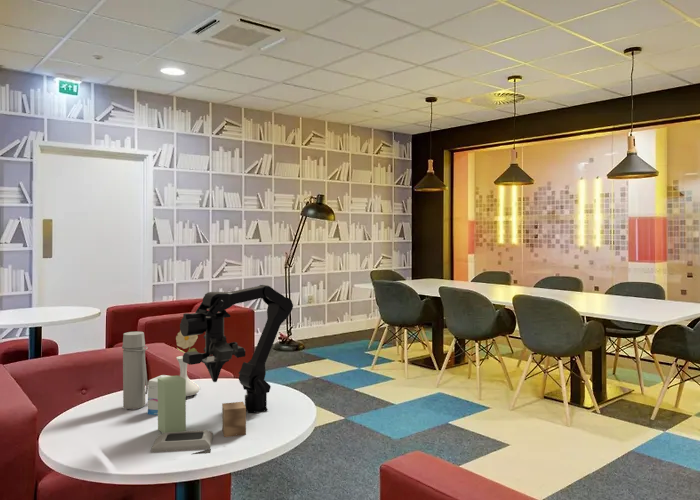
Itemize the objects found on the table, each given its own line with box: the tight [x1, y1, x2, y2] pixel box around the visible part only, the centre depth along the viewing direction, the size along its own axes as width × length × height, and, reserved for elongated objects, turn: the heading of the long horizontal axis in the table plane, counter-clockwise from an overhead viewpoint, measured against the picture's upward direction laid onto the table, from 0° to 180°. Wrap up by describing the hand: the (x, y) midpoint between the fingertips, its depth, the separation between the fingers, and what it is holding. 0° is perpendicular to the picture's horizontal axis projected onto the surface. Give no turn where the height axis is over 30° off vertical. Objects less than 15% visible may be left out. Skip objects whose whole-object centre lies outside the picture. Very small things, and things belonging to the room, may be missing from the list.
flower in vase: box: [175, 330, 201, 397], centre depth 195 cm, size 13×11×25 cm
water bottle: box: [121, 331, 149, 410], centre depth 182 cm, size 9×8×25 cm
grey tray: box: [150, 429, 214, 455], centre depth 148 cm, size 10×4×15 cm
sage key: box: [157, 374, 187, 434], centre depth 158 cm, size 6×6×15 cm
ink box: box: [147, 374, 171, 416], centre depth 175 cm, size 9×5×12 cm, turn 168°
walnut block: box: [221, 401, 247, 438], centre depth 156 cm, size 6×6×9 cm
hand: (214, 381), depth 170 cm, fingers closed
